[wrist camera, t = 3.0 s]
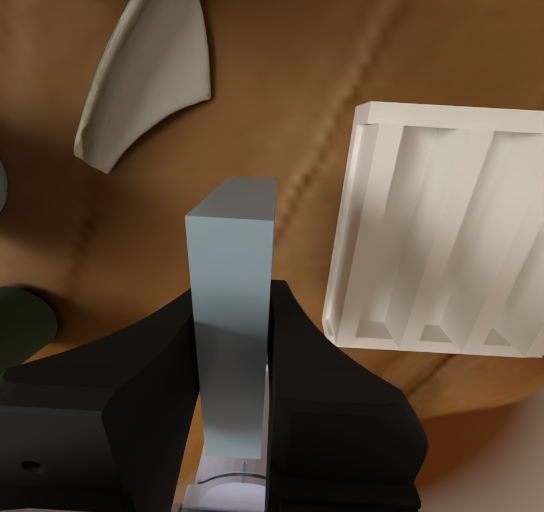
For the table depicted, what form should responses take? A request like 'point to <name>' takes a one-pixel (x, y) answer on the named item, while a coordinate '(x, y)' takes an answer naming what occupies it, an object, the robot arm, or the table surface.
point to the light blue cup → (3, 186)
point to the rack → (440, 232)
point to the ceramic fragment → (144, 77)
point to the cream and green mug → (23, 326)
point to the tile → (232, 310)
